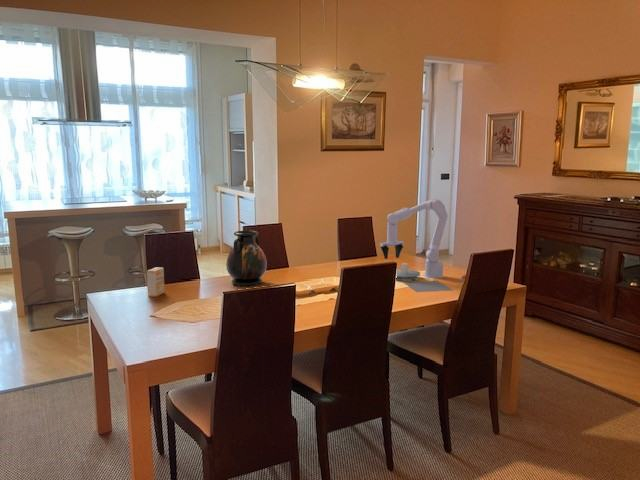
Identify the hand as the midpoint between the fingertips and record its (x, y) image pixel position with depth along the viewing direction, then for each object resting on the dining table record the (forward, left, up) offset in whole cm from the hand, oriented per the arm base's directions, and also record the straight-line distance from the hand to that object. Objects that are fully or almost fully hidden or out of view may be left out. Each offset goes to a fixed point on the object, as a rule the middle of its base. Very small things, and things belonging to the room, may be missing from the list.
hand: (391, 258), depth 292 cm
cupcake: (-32, +32, -11) cm, 46 cm away
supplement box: (+127, +18, -11) cm, 129 cm away
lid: (-5, +8, -8) cm, 12 cm away
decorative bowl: (-5, +8, -11) cm, 15 cm away
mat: (-11, +27, -10) cm, 31 cm away
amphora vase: (+82, +3, -11) cm, 83 cm away
